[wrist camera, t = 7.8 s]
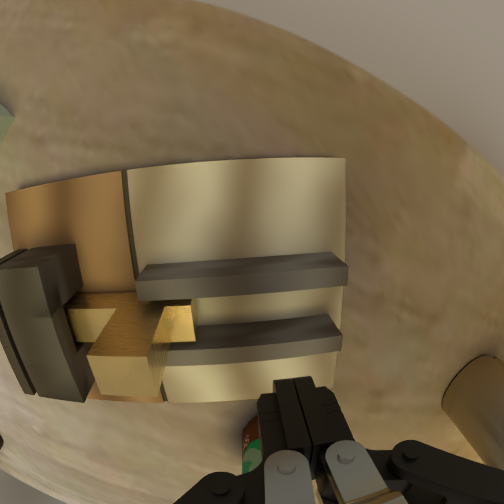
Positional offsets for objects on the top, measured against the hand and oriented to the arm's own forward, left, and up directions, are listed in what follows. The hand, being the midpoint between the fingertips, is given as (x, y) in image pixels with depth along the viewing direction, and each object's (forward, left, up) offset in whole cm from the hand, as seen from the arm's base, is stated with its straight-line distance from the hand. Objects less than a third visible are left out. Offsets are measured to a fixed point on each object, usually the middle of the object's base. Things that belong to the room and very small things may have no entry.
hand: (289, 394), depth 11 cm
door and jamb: (+6, 0, -11) cm, 13 cm away
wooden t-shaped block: (+10, 0, -9) cm, 14 cm away
